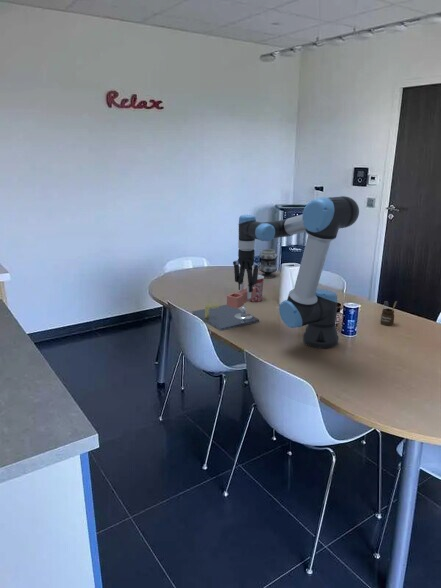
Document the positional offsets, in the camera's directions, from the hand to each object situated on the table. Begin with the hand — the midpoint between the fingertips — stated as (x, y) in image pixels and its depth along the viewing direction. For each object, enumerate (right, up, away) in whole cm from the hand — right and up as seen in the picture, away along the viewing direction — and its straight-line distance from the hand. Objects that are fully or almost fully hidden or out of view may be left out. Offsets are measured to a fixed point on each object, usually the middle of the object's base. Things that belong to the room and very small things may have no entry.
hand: (245, 297), depth 216 cm
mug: (+9, -2, +40) cm, 41 cm away
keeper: (-16, -11, +9) cm, 22 cm away
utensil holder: (+68, -13, +2) cm, 69 cm away
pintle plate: (-10, -10, +12) cm, 18 cm away
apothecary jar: (+20, +13, +87) cm, 90 cm away
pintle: (0, -9, +10) cm, 14 cm away
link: (-1, -2, -1) cm, 3 cm away
